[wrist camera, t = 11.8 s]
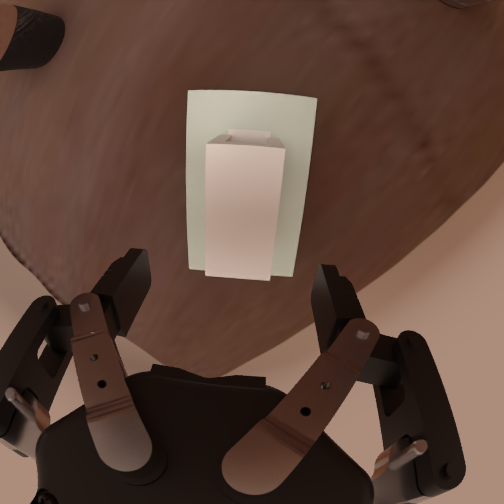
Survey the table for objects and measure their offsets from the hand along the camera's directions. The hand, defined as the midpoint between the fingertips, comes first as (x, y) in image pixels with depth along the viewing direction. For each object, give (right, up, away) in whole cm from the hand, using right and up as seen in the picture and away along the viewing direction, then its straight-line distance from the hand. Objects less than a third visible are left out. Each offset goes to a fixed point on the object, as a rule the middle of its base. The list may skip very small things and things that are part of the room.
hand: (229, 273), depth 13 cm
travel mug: (-24, +26, +4) cm, 35 cm away
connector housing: (0, +6, +12) cm, 14 cm away
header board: (+1, +8, +14) cm, 16 cm away
